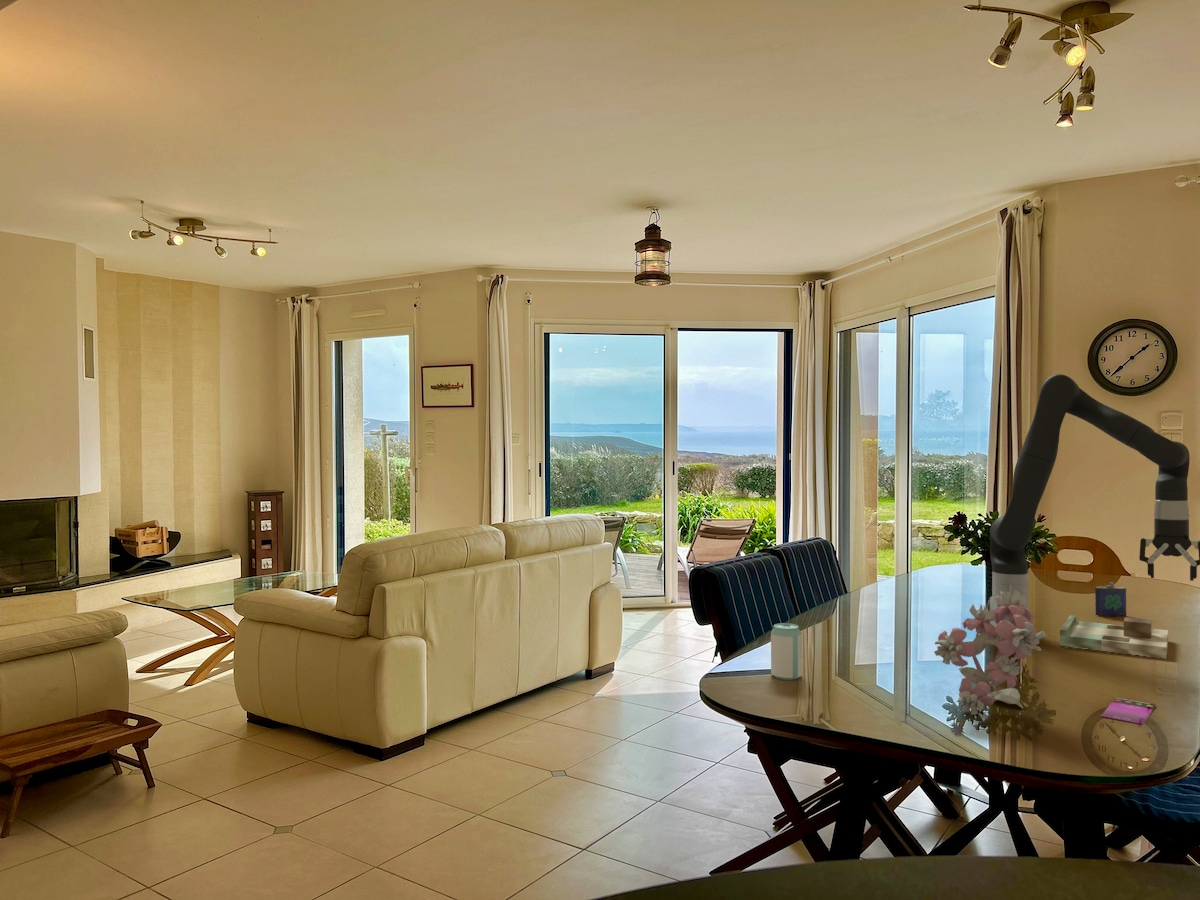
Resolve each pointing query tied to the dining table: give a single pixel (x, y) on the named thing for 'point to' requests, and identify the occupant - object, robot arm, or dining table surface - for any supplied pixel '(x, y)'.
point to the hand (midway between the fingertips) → (1171, 579)
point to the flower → (1007, 644)
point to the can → (786, 651)
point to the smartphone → (1129, 711)
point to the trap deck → (1112, 639)
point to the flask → (1110, 601)
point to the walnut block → (1137, 627)
